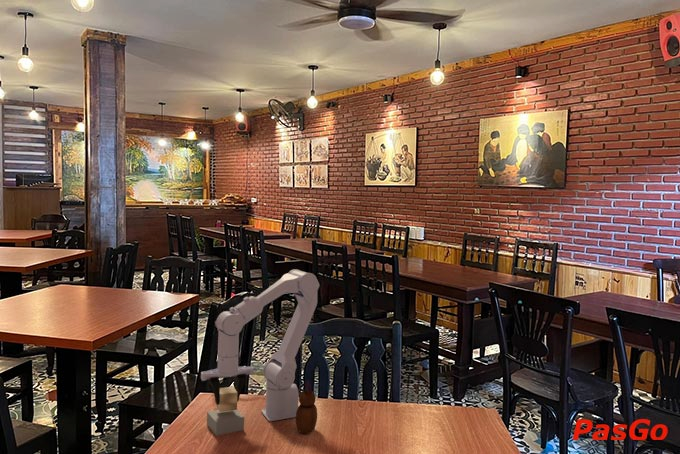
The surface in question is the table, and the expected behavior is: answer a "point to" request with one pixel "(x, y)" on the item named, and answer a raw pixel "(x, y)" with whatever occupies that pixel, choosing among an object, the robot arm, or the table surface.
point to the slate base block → (225, 421)
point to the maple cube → (227, 399)
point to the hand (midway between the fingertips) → (226, 401)
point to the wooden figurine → (306, 411)
